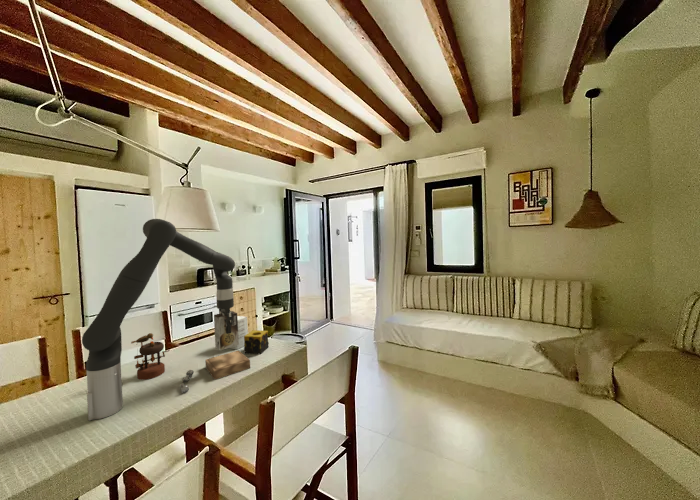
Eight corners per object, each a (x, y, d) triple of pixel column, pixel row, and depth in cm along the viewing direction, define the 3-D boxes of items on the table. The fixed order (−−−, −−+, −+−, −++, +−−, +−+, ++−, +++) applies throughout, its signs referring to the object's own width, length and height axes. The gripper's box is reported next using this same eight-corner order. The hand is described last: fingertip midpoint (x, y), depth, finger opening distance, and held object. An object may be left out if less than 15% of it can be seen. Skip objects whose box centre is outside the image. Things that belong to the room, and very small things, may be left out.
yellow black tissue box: (252, 346, 158) (252, 329, 157) (269, 347, 156) (268, 330, 156) (243, 353, 147) (243, 336, 147) (261, 354, 146) (260, 336, 146)
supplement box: (248, 344, 162) (247, 316, 161) (237, 349, 153) (236, 320, 153) (236, 342, 165) (235, 315, 165) (224, 347, 157) (223, 319, 156)
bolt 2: (189, 391, 110) (188, 385, 110) (181, 394, 108) (180, 387, 108) (186, 386, 115) (186, 379, 114) (178, 388, 113) (178, 382, 113)
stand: (214, 379, 120) (214, 370, 120) (205, 367, 132) (205, 359, 132) (250, 368, 130) (249, 359, 130) (238, 357, 142) (238, 349, 142)
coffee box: (233, 341, 136) (232, 310, 136) (239, 345, 132) (237, 312, 131) (214, 347, 129) (213, 314, 129) (219, 350, 125) (218, 316, 125)
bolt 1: (188, 381, 118) (188, 375, 118) (181, 382, 118) (181, 376, 118) (193, 375, 124) (193, 369, 124) (187, 376, 124) (186, 370, 123)
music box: (138, 384, 117) (134, 338, 118) (129, 379, 123) (126, 336, 124) (176, 369, 130) (173, 328, 130) (166, 366, 136) (163, 327, 136)
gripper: (238, 298, 127) (239, 333, 127) (228, 294, 138) (229, 326, 138) (221, 301, 122) (222, 337, 122) (212, 296, 133) (213, 329, 133)
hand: (226, 331), depth 130 cm, fingers closed on coffee box, 6 cm apart
